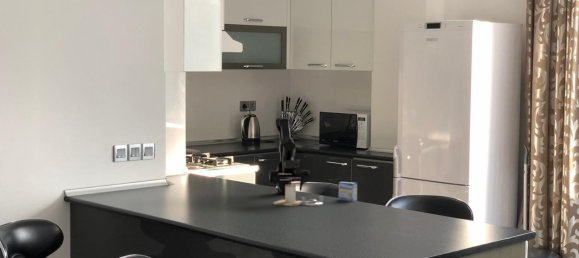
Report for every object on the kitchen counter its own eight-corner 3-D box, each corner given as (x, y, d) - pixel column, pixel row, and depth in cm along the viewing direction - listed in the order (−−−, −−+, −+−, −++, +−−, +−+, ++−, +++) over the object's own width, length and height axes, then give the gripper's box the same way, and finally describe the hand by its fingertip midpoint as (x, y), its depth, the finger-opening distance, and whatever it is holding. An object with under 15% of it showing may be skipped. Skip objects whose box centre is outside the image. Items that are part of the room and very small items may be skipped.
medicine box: (338, 200, 385) (338, 182, 384) (342, 199, 389) (342, 181, 388) (353, 201, 381) (353, 183, 381) (357, 200, 385) (357, 182, 385)
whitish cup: (283, 202, 374) (283, 184, 373) (290, 200, 377) (290, 183, 376) (290, 203, 370) (290, 186, 370) (297, 202, 374) (297, 185, 373)
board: (273, 204, 374) (273, 202, 374) (282, 201, 382) (282, 199, 382) (294, 206, 369) (294, 203, 369) (303, 203, 377) (303, 201, 377)
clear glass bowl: (298, 203, 376) (298, 195, 376) (318, 201, 381) (318, 194, 380) (306, 206, 368) (306, 199, 367) (327, 205, 372) (327, 197, 372)
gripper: (269, 153, 375) (271, 180, 365) (309, 153, 377) (312, 180, 367) (268, 168, 383) (270, 194, 373) (307, 167, 385) (310, 194, 375)
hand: (290, 190), depth 372 cm, fingers open, 9 cm apart
